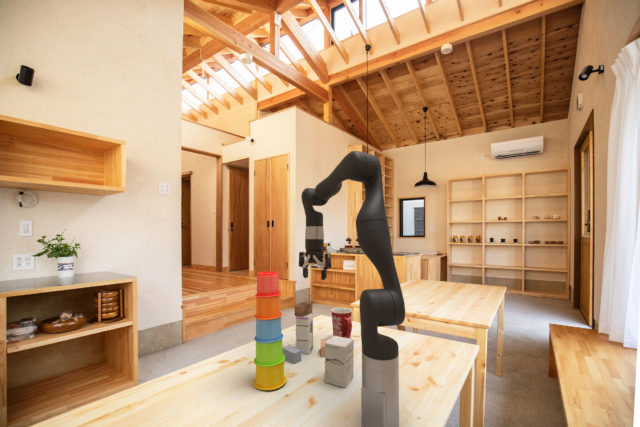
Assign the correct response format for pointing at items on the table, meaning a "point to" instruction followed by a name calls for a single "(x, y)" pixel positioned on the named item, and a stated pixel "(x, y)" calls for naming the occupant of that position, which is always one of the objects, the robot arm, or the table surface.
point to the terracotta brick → (323, 348)
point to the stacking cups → (268, 334)
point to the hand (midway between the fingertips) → (314, 278)
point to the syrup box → (304, 333)
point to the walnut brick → (303, 309)
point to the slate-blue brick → (292, 354)
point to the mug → (342, 322)
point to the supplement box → (339, 361)
